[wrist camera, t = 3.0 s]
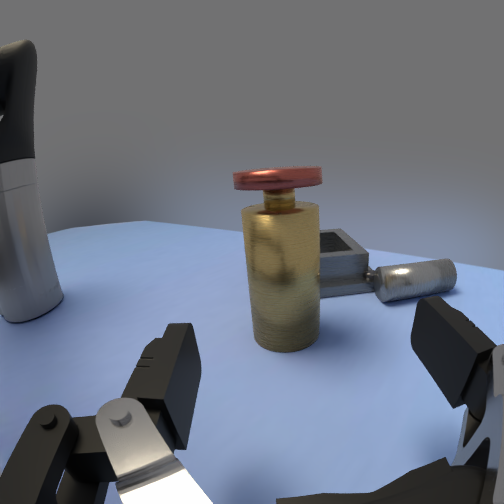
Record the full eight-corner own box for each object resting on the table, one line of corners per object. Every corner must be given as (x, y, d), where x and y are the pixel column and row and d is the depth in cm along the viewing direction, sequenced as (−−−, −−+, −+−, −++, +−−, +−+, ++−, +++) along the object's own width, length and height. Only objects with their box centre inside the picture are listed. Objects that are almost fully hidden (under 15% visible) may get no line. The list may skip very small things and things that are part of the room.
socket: (258, 303, 26) (255, 268, 25) (256, 259, 38) (254, 232, 37) (381, 290, 26) (384, 256, 25) (346, 251, 38) (346, 225, 36)
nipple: (371, 284, 26) (381, 309, 24) (378, 259, 24) (390, 285, 22) (436, 274, 26) (448, 297, 24) (445, 252, 24) (460, 274, 22)
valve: (249, 358, 19) (229, 175, 15) (250, 316, 24) (235, 170, 21) (330, 349, 19) (331, 168, 15) (315, 310, 24) (311, 165, 20)
